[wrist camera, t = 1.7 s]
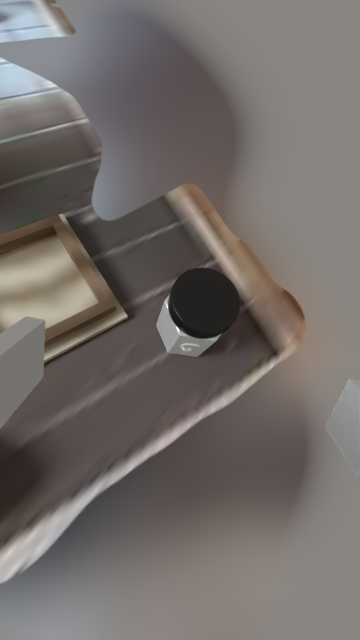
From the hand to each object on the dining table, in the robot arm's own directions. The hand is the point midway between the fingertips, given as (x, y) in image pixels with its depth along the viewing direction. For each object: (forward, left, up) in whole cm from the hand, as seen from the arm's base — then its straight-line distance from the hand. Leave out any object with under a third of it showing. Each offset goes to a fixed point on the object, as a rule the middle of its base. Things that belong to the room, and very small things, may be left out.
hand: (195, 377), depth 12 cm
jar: (-6, +11, -28) cm, 31 cm away
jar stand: (-22, -5, -28) cm, 36 cm away
